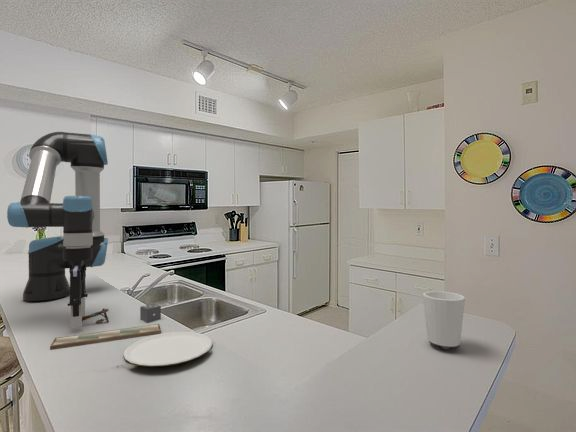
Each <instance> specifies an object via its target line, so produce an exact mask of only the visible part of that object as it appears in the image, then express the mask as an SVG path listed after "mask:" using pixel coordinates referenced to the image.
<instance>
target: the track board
mask: <svg viewBox="0 0 576 432" xmlns="http://www.w3.org/2000/svg"><path fill="white" fill-rule="evenodd" d="M158 334H162V329H161V325H160V323H157V324H148V325H141V326H140V325H139V326H131V327H126V328H119V329H118V328H117V329H111V330H104V331H96V332H89V333H82V334H75V335H74V334H73V335H67V336H61V337H60V336H59V337H58V336H57V337H55V338H54V339H53V340H52V343H51V344H50V346H49V350H51V351H52V350H58V349H64V348H65V349H66V348H69V347H71V348H72V347H78V346H83V345H91V344H98V343H104V342H109V341H110V342H111V341H117V340H125V339H126V340H127V339H131V338H139V337H145V336H153V335H158Z"/></svg>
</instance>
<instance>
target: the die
mask: <svg viewBox="0 0 576 432" xmlns="http://www.w3.org/2000/svg"><path fill="white" fill-rule="evenodd" d="M139 309H140V310H139V311H140V314H139V315H140V316H139V317H140V318H139V319H140V321H142V322H144V323H147V324H148V323H152V322H155V321H158V320H161V318H162V313H161V312H162V308H161V305H159V304H156V303H151V304H146V305H141V306H140V307H139Z"/></svg>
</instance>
